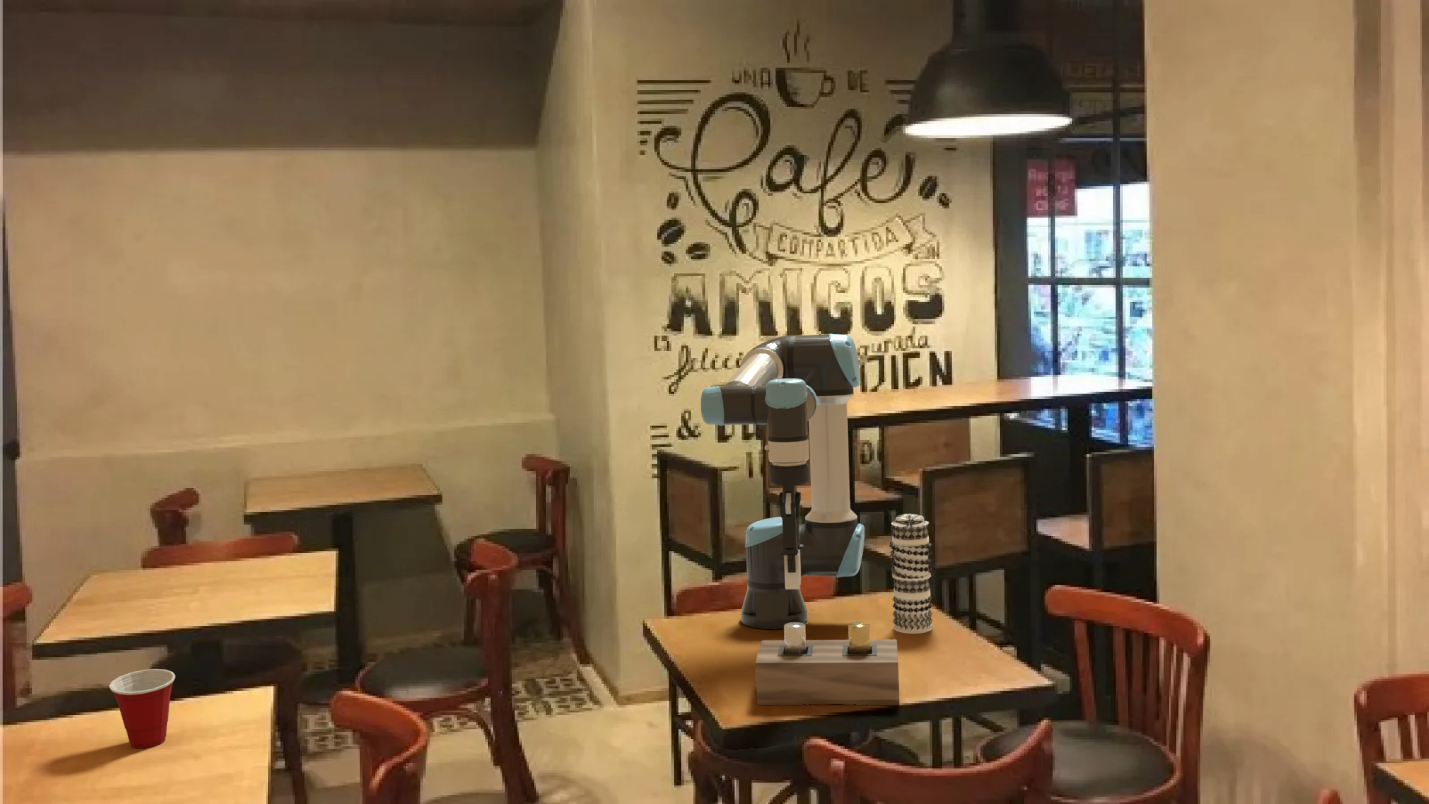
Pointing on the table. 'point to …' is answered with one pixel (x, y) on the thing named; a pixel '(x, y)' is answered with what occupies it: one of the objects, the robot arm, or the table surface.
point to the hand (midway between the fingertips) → (793, 586)
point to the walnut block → (827, 674)
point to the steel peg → (795, 638)
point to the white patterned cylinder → (911, 574)
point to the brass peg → (859, 638)
